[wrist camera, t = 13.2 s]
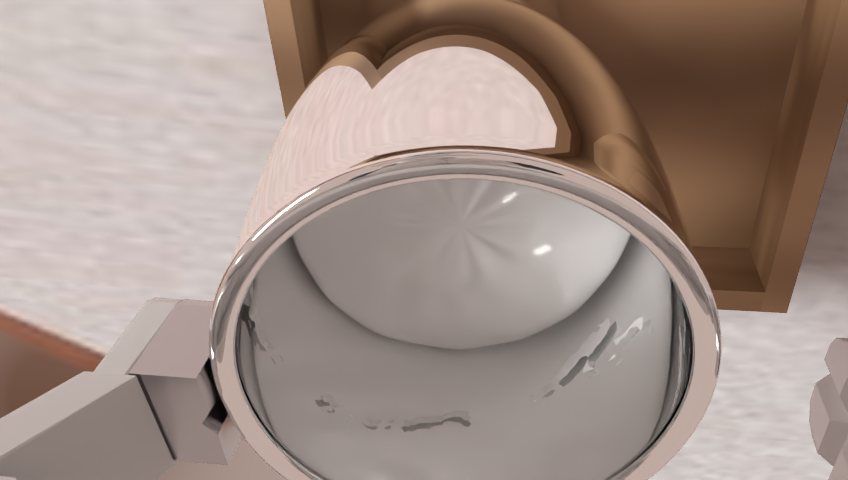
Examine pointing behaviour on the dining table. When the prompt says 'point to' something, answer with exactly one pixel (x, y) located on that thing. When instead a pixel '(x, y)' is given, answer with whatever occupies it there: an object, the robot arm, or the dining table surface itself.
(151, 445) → the robot arm
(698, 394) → the beer glass
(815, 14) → the walnut tray
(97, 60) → the dining table surface
